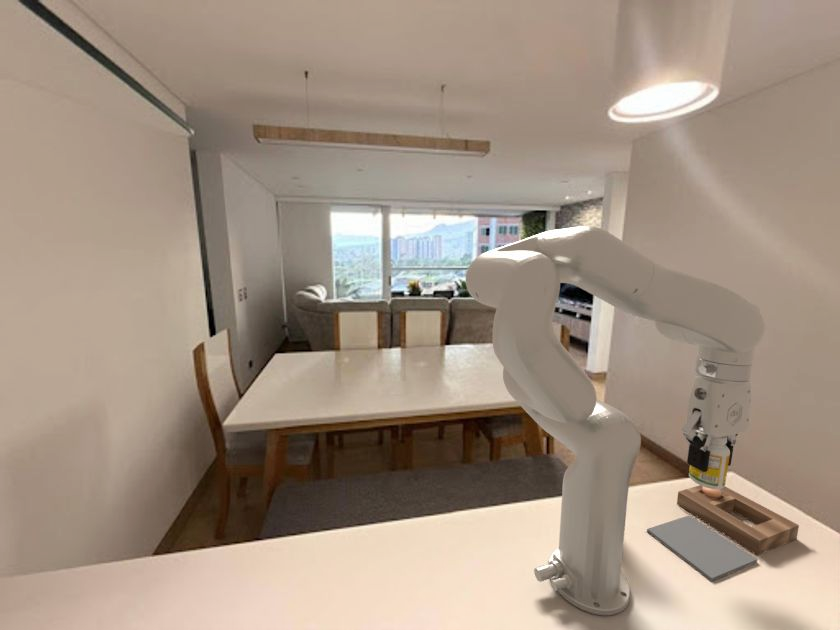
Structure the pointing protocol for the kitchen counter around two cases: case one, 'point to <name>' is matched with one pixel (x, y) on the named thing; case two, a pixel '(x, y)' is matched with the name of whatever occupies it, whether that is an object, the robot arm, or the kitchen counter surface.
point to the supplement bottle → (713, 465)
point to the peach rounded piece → (712, 493)
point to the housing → (757, 538)
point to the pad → (701, 547)
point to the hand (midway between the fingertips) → (708, 463)
